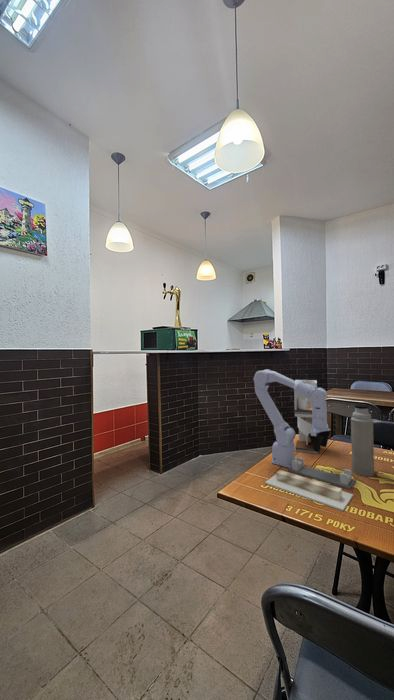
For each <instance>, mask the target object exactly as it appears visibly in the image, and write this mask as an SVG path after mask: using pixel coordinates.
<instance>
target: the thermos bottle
mask: <svg viewBox="0 0 394 700" xmlns="http://www.w3.org/2000/svg"><path fill="white" fill-rule="evenodd" d="M351 416H352V417H351V418H350V436H351V439H350V440H351V472H352V473H354V474H355V475H359V476H361V477H373V476H374V475H375V458H374V457H375V455H374V454H375V453H374V449H375V447H374V419H373V418H372V414H371V413H370V412H369V406H368V405H365V404H354V411H353V412H352V415H351Z"/></svg>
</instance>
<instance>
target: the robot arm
mask: <svg viewBox="0 0 394 700" xmlns="http://www.w3.org/2000/svg"><path fill="white" fill-rule="evenodd" d="M275 382H276V383H278V384H282V385H284V386H287V387H289V388H291V389H293V392H294V391H295V392H296V393H298V394H300V395H303V396H305V397H307V398H311V400H312V430H311V433H309V434H308V437H309V438H310V440H311V442H312V445H313V449H314V451H316V452H318V453H320V452H321V448H322V447H324V448H326V447H327V445H328V441H329V436H330V434H331V433H332V430H331V428H329V424H328V412H327V411H328V407H327V399H328V392H327V391H326V389H324V388H323V387H318V385H317V386H312V385H310V384H308V383H306V381H298V382H296V381H295V380H294V379H292V378H291V377H290V378H289V377H287V376H285V375H283V374H281V373H279V372H277V371H274V370H271V369H270V368H269V369H268V368H266V369H264V370H263V369H262V370H257V371H256V372H255V374H254V376H253V383H254V392H255V394H256V397H257V399H258V400H259V401H260V404H261V405H262V407H263V409H264V411H265V413H266V414H267V417H268V418H269V421H271V424H272V426H273V432H274V435H275V439H276V440H275V441H274V442H273V444H272V445H271V446H272V448H271V452H272V453H271V455H272V456H271V457H272V458H271V460H272V461H271V464H274V465H278V466H281V467H285V468H288V469H289V468H291V467H292V460H295V461H296V458H295V457H296V456H295V454H296V453H295V452H296V448H295V442H294V440H295V438H296V431H295V430H294V428H293V427H291V426H290V425H289V423H288V422H286V421H285V420H284V418H283V416H282V414H281V412H280V411H279V409H278V408H277V406H276V403H275V402H274V401H273V399H272V397H271V396H270V394H269V392H268V389H269V386H270V384H272V383H275Z"/></svg>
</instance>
